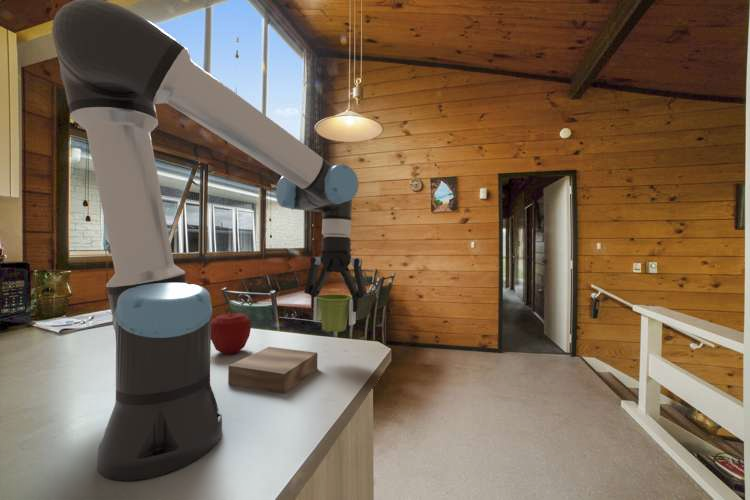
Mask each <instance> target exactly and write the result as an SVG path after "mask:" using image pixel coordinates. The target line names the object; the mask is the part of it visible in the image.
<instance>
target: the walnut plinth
mask: <svg viewBox="0 0 750 500" xmlns="http://www.w3.org/2000/svg"><path fill="white" fill-rule="evenodd" d="M227 367H228V369H227V370H228V373H227V374H228V378H227V380H228V381H227V384H228V385H233V386H237V387H238V386H239V387H244V388H250V389H255V390H261V391H268V392H273V393H279V394H286V393H287V392H288V391H290V390H291V389H292V388H294V387H295V386H296V385H298V384H299V383H300V382H302V381H303V380H304V379H306V378H307V377H309V376H310V375H311V374H312V373H314V372H315V371H317V370H318V352H315V351H309V350H307V351H306V350H298V349H290V348H282V347H274V346H273V347H272V346H268V347H266V348H263V349H261V350H259V351H257V352H255V353H253V354H249V355H247V356H246V357H244V358H242V359H240V360H237V361H236V362H233V363H231V364H229V365H228V366H227ZM316 369H317V370H316Z"/></svg>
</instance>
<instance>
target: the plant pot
mask: <svg viewBox="0 0 750 500" xmlns="http://www.w3.org/2000/svg"><path fill="white" fill-rule="evenodd" d="M317 299H318V302H319V304H320V312H321V320H320V321H321V329H322V331H324V332H327V333H329V332H335V333H339V332H340V333H341V332H344V331H346V328H347V324H348V319H349V300H350V299H352V296H351V294H343V293H342V294H341V293H328V294H320V295H318V296H317Z"/></svg>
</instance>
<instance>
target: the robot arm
mask: <svg viewBox="0 0 750 500" xmlns="http://www.w3.org/2000/svg"><path fill="white" fill-rule="evenodd" d="M51 34H52V39H53V40H52V41H53V44H54V47H55V51H56V55H57V58H58V63H59V67H60V68H59V71H60V77H61V81H62V84H63V87H64V91H65V92H64V93H65V96H66V101H67V105H68V110H69V114H70V118H71V120H72V121H73V122H75V123H76V124H78V125H79V126H80V127H82V128H83V129H84V130H85V131H86V136H87V142H88V146H89V150H90V151H89V152H90V155H91V160H92V166H93V171H94V175H95V180H96V186H97V189H98V194H99V195H98V196H99V200H100V204H101V209H102V215H103V219H104V224H105V231H106V233H107V239H108V243H109V248H110V253H111V259H112V263H113V268H114V274H113V275H112V277H111V278H110V279H109V281H108V282H107V283H106V284H105V287H106V292H107V296H108V303H109V306H110V312H111V317H112V326H113V329H114V334H115V349H116V350H115V402H114V403H115V404H114V407H113V410H112V412H111V414H110V417H109V419H108V422H107V425H106V428H105V430H104V434H103V437H102V439H101V441H100V442H99V445H98V449H97V469H98V472H99V473H100V474H101V475H102V476H103V477H105V478H108V479H112V480H116V481H137V480H145V479H150V478H154V477H158V476H162V475H165V474H169V473H171V472H175V471H176V470H179V469H182V468H183V467H185V466H188V465H189V464H191V463H194V462H195V461H196V460H198V459H200V458H201V457H203V456H204V455H206V454H207V453H208V452H209V451H211V449H213V448H214V447H215V446H216V445H217V444H218V442H219V440H220V439H221V437H222V433H223V418H222V417H223V416H222V412H221V411H220V409H219V407H218V403H217V402H218V401H217V399H216V397H215V394H214V391H213V388H212V385H211V354H212V353H211V350H212V349H211V347H212V346H211V343H212V341H211V321H212V315H213V307H212V301H211V300H212V299H211V295H210V292H209V291H208V290H207V289H206V288H205V287H203V286H201V285H197V284H193V283H192V284H191V283H190V284H189V283H188V280H187V276H186V271H185V270H184V269H182V268H181V267H180V266H178V265H176V264H175V263H174V257H173V251H172V246H171V245H172V244H171V240H170V235H169V230H168V224H167V220H166V213H165V209H164V208H165V207H164V204H163V196H162V193H161V192H162V191H161V186H160V181H159V180H160V179H159V176H158V175H159V174H158V169H157V164H156V159H155V154H154V147H153V141H152V137H151V133H152V132H153V131H154V130H155V129H156V127H158V125H159V121H158V120H159V119H158V115H157V109H156V105H160V104H167V105H169V106H170V107H172V108H174V109H175V110H177V111H179V112H180V113H182V114H183V115H185V116H186V117H188V118H189V119H191V120H193V121H194V122H196V123H197V124H199V125H200V126H201V127H204V128H205V129H207V130H208V131H210V132H212V133H213V134H215V135H216V136H218V137H219V138H221V139H223V140H225V141H226V142H228V143H229V144H231V146H234V147H235V148H237V149H239V150H240V151H242V152H243V153H244V154H247V155H248V156H250V157H251V158H252V159H254V160H256V161H257V162H259V163H261V164H262V165H263V166H266V167H267V168H269V169H270V170H271V171H273V172H274V173H276V174H278V175H279V176H280V179H279V180H278V182H277V185H276V188H275V189H276V190H275V192H276V193H275V196H276V197H275V198H276V201H277V204H278V205H279V206H280V207H282V208H284V209H285V208H286V209H290V210H299V211H309V212H317V213H321V214H322V218H321V220H322V225H321V235H322V236H323V237H322V238H321V255H320V256H319V257H318V256H311V257H310V259H309V260H310V267H309V272H308V275H307V280H306V282H305V283H306V284H305V286H304V294H307V295H310V297H311V298H310V300H311V301H310V308H311V309H313V322H314V323H317V322H320V321H321V312H320V304H319V302H318V299H317V296H318V295H321V294H320V293H321V290H322V289H323V287H324V285H325V283H326V281H327V279H328V277H329V275H330V274H331V273H340V275H341V276H342V278H343V280H344V282H345V285H346V287H347V289H348V291H349V293H350V295H351V296H352V299H350V300H349V312H348V326H350V327H351V326H353V325H355V324H356V320H357V319H356V317H357V316H356V315H357V314H356V313H357V312H359V311H360V299H361V298H363V297H366V296H367V294H368V293H367V289H366V283H365V279H364V275H363V270H362V264H363V263H362V262H363V260H362V258H359V257H357V258H356V257H355V258H354V257H352V255H351V246H352V245H351V242H352V239H351V238H350V236H351V235H352V204H353V199H354V198H355V197H356V195H357V193H358V190H359V178H358V176H357V174H356V171H354V169H353V168H352V167H351V166H349V165H346V164H343V163H341V164H340V163H339V164H337V163H336V164H332V163H330V162H328V161H327V160H326V159H325V158H323V157H321V156H320V155H319V154H317V153H316V152H315V151H314V150H313V149H311V148H310V147H308V146H307V145H306V144H305V143H303V142H302V141H300V140H299V139H298V138H296V137H295V136H294V135H293V134H291V133H289V132H288V131H287V130H286V129H285V128H283V127H281V126H280V125H279V124H278V123H276V122H275V121H273V120H272V119H271V118H269V117H268V116H267V115H266V114H264V113H263V112H262V111H260V110H259V109H257V108H256V107H255V106H253V105H252V104H251V103H250V102H248V101H247V100H245V99H244V98H242V97H241V96H240V95H238V94H237V93H236V92H234V91H233V90H232V89H230V88H229V87H228V86H227V85H225V84H224V83H222V82H221V81H220V80H219V79H217V78H216V77H215V76H213V75H212V74H210V73H209V72H208V71H206V70H205V69H203V67H202V66H200V65H198V64H197V63H196V62H195V61H193V60H192V58H191V55H190V52H189V50H188V49H189V48H187V47H186V46H184V45H183V44H182V43H180V42H179V41H178V40H177V39H175V38H174V37H172V35H170V34H168V33H167V32H166V31H164V30H163V29H162V28H160V27H159V26H157V25H156V24H154V23H152V22H151V21H150V20H148V19H146V18H144V17H143V16H141V15H139V14H137V13H135V12H134V11H132V10H130V9H128V8H126V7H124V6H121V5H118V4H116V3H113V2H111V1H107V0H71V1H69V2H68V3H66V4H64V5H62V6H61V8H59V10H58V11H57V12H56V14H55V16H54V18H53V21H52V28H51ZM321 264H322V265H323V267H322V268H321V271H320V274H319V276H318V273H319V269H320V265H321ZM350 264H351V265H352V267H353V273H354V277H355V282H354V279H353V277H352V274H351V271H350V269H349V265H350ZM317 276H318V278H317ZM316 279H317V280H316ZM355 283H356V284H355ZM313 322H312V323H313Z"/></svg>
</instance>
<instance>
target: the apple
mask: <svg viewBox="0 0 750 500" xmlns="http://www.w3.org/2000/svg"><path fill="white" fill-rule="evenodd" d="M251 329H252V323H251V320H250V318H249V316H248V315H246V314H245V313H243V312H235V313H233V312H232V311H230V313H226V314H221V315H220V314H219V315H218V316H216V317H214V318H213V319H211V343H212V345H213V346H214V349H215V351H216V352H219V353H222V354H223V355H234V354H238V353H239V352H241V350H243V349H244V348H245V346H246V344H247V342H248V340H249V338H250V334H251Z"/></svg>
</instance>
